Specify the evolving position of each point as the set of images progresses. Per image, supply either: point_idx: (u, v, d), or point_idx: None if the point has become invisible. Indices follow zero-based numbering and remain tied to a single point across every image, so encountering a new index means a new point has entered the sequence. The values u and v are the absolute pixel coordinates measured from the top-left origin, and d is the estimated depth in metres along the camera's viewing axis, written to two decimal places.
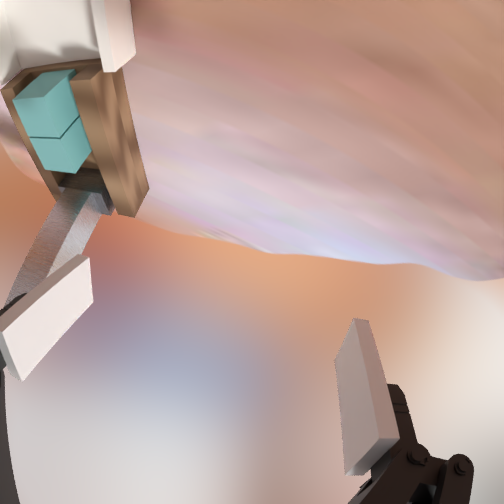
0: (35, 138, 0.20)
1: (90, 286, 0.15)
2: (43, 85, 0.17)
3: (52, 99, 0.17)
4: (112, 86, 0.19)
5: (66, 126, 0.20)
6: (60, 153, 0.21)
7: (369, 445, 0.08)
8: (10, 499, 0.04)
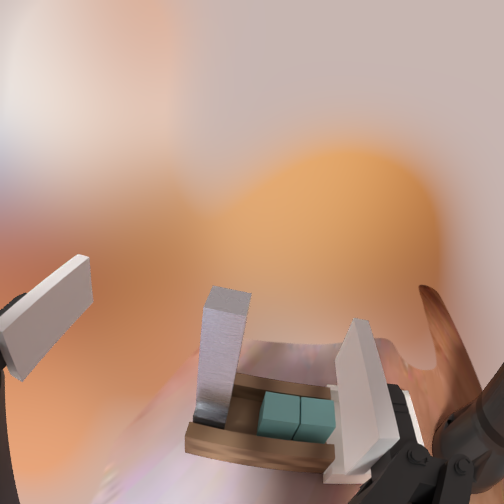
0: (299, 401, 0.32)
1: (90, 286, 0.15)
2: None
3: (327, 429, 0.29)
4: (310, 466, 0.28)
5: (300, 429, 0.30)
6: (285, 416, 0.30)
7: (369, 445, 0.08)
8: (10, 499, 0.04)
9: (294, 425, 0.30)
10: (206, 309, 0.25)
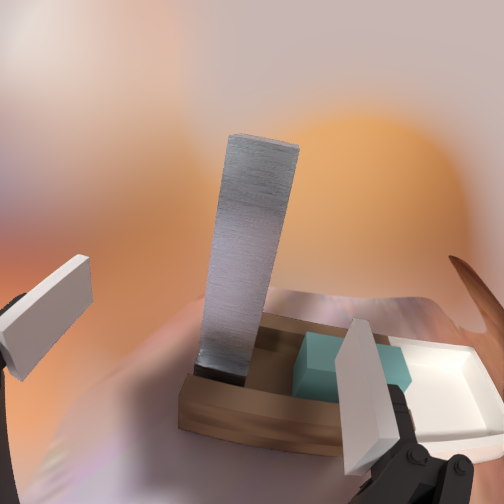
0: None
1: (90, 286, 0.15)
2: None
3: (399, 386, 0.19)
4: None
5: None
6: None
7: (369, 445, 0.08)
8: (10, 499, 0.04)
9: None
10: (233, 139, 0.15)
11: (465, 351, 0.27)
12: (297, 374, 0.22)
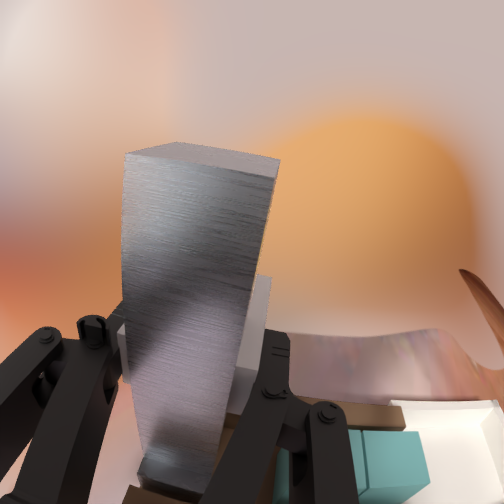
0: (360, 441, 0.14)
1: None
2: None
3: (413, 489, 0.11)
4: None
5: (363, 495, 0.12)
6: None
7: None
8: None
9: None
10: (134, 161, 0.07)
11: (488, 407, 0.19)
12: (280, 475, 0.14)
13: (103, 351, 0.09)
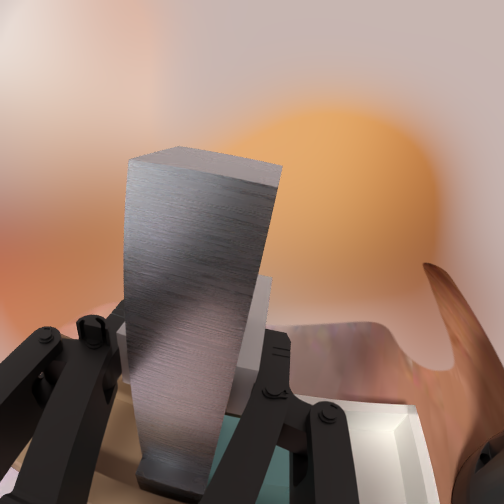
0: None
1: None
2: None
3: None
4: None
5: (282, 499, 0.13)
6: None
7: None
8: None
9: (279, 489, 0.12)
10: (137, 167, 0.07)
11: (399, 413, 0.20)
12: None
13: (103, 351, 0.09)
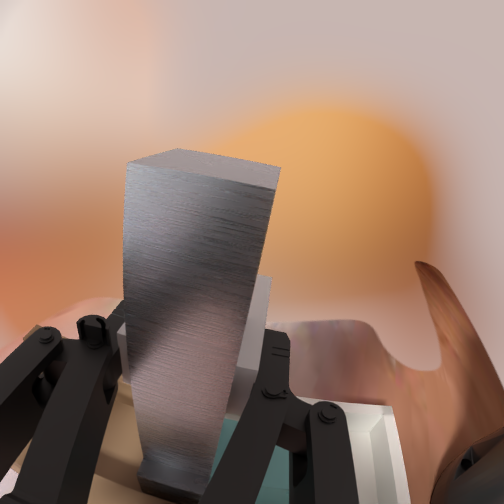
0: None
1: None
2: None
3: None
4: None
5: (283, 500, 0.13)
6: None
7: None
8: None
9: (279, 491, 0.12)
10: (136, 171, 0.07)
11: (374, 414, 0.20)
12: None
13: (103, 351, 0.09)
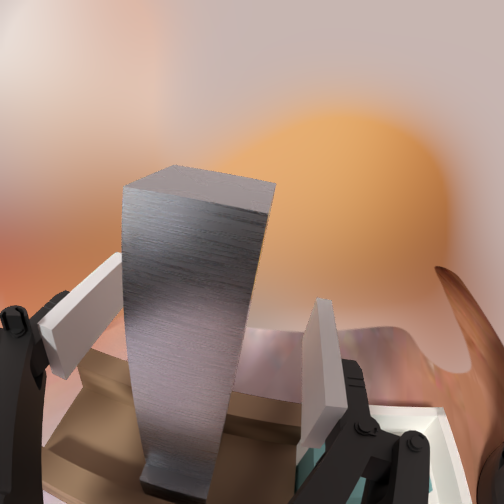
0: None
1: None
2: None
3: None
4: None
5: None
6: None
7: (318, 414, 0.09)
8: None
9: None
10: (132, 194, 0.07)
11: (430, 415, 0.20)
12: None
13: (26, 338, 0.08)
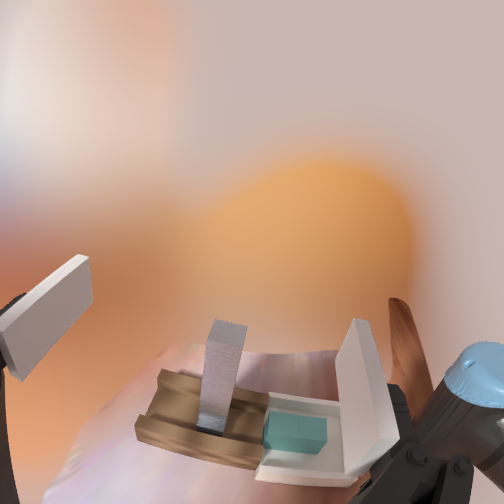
0: (298, 419, 0.37)
1: (90, 286, 0.15)
2: None
3: (320, 443, 0.34)
4: (242, 462, 0.32)
5: (297, 442, 0.35)
6: (286, 432, 0.35)
7: (369, 445, 0.08)
8: (10, 499, 0.04)
9: (294, 439, 0.34)
10: (209, 341, 0.29)
11: None
12: (264, 432, 0.37)
13: None
